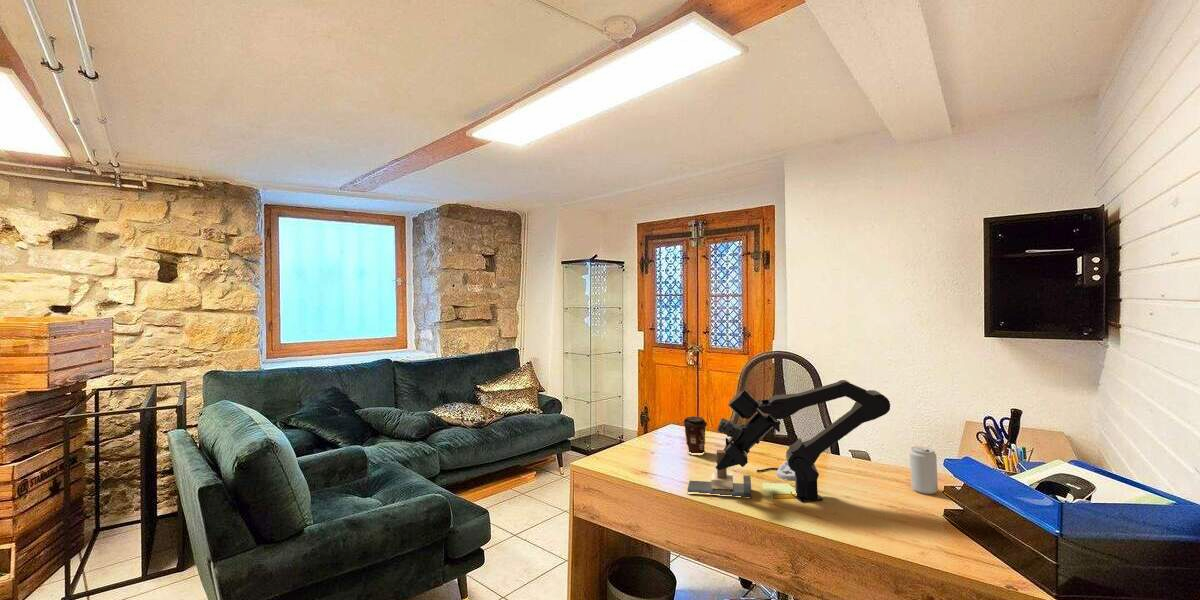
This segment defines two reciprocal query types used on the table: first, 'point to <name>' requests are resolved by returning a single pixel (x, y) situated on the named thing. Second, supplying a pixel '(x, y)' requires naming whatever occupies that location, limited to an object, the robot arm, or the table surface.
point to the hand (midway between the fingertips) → (717, 466)
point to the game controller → (784, 471)
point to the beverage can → (923, 470)
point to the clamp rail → (738, 489)
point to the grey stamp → (721, 475)
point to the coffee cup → (695, 434)
